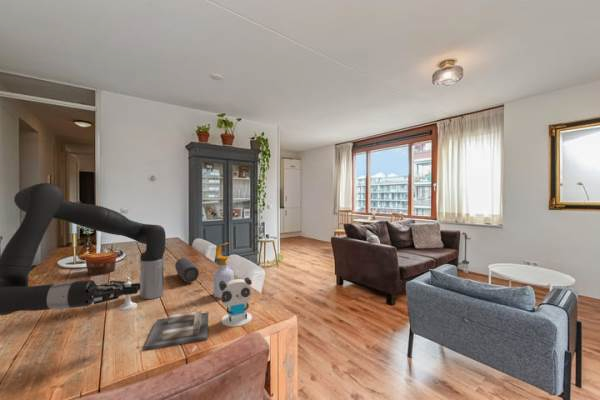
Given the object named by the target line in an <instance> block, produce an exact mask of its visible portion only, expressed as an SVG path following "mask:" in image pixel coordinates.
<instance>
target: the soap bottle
mask: <svg viewBox="0 0 600 400" xmlns="http://www.w3.org/2000/svg"><path fill="white" fill-rule="evenodd" d="M228 244H229V242H225V243H221V244H219V245H217V246H216V247H215V257H216V259H217V260H220V261H221V262H220V264H219V269H217V270H216V271H215V272H214V273H213V296H214V297H215V298H218V299H221V297H220V292H221V290H220V287H219V283H220V282H221V281H225V283H227V282H228V281H231V280H234V279H235V274H234V271H233V270H232V269H231V268H229V267H228V262H226V261H228V259H229V258H230V256H227V255H226V256H224V255H222V246H225V245H228Z"/></svg>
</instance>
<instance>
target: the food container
mask: <svg viewBox="0 0 600 400" xmlns="http://www.w3.org/2000/svg"><path fill="white" fill-rule="evenodd" d="M117 257H118V253H116V252H114V251H109V252H108V251H107V252H106V251H104V252H97V253H92V254H88V255H86V256H85V257H84V259H83V260H84V261H85V264H86V271H87V274H88V275H89V276H101V275H100V274H103V275H106V273H108V274H111V273H113V272H114V271H115V270H116V262H117ZM110 272H111V273H110Z"/></svg>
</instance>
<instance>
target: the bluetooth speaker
mask: <svg viewBox="0 0 600 400" xmlns="http://www.w3.org/2000/svg"><path fill="white" fill-rule="evenodd" d="M174 267H175V271H176V272H177V275H178V276H179V277H180V278H181V279H182V280H183V281H184V282H186V283H193V282H195V281H196V280H197V279H198V277H199V275H200V273H199V272H200V271H199V269H198V267H197V266H196V264H195V263H193V262H192V261H191V260H190V259H189V258H186V257H181V258H178V260H177V261H176V262H175V264H174Z"/></svg>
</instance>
